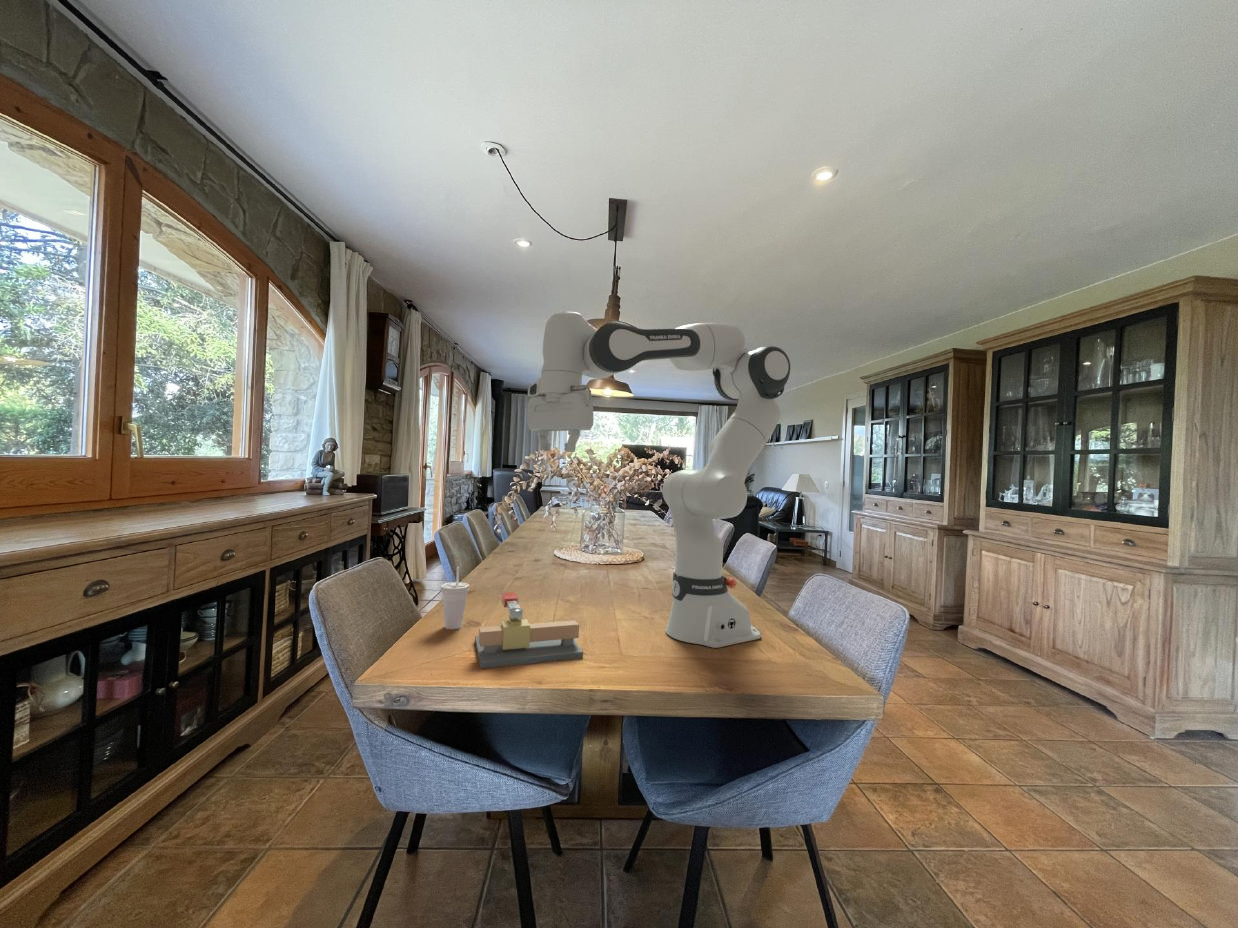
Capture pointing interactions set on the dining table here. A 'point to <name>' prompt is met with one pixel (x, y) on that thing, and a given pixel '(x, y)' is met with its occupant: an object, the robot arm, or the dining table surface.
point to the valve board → (528, 653)
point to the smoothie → (454, 602)
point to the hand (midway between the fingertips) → (556, 451)
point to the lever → (512, 606)
